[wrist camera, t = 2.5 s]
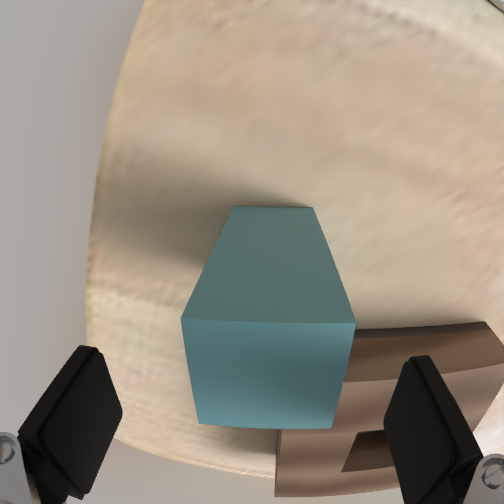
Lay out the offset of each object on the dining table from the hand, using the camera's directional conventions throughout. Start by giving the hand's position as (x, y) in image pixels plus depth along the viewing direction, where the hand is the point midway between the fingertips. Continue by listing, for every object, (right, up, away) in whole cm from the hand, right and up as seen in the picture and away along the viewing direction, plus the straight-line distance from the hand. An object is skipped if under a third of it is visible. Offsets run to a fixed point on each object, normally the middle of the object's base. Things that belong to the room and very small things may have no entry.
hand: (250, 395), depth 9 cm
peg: (+1, +5, +10) cm, 11 cm away
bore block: (+10, -8, +15) cm, 20 cm away
